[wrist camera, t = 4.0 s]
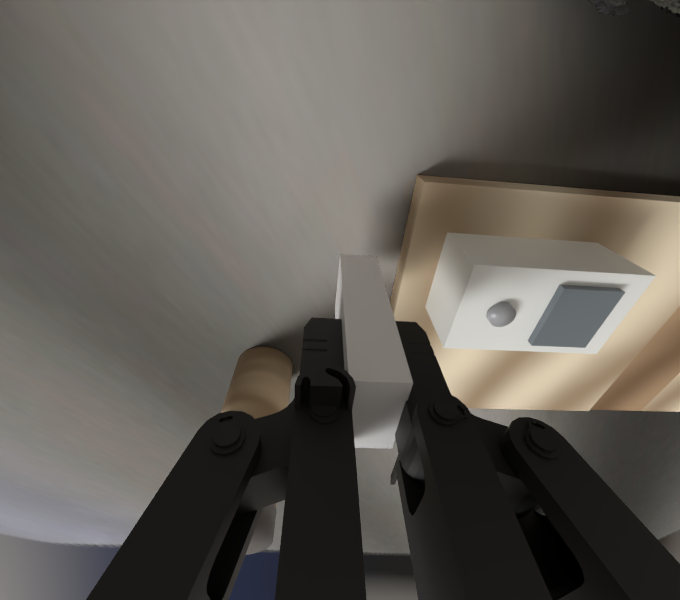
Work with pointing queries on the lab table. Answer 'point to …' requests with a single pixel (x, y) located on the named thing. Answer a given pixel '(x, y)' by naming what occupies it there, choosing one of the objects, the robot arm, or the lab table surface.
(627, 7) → the rock
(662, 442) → the lab table surface
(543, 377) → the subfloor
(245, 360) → the peg
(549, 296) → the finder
